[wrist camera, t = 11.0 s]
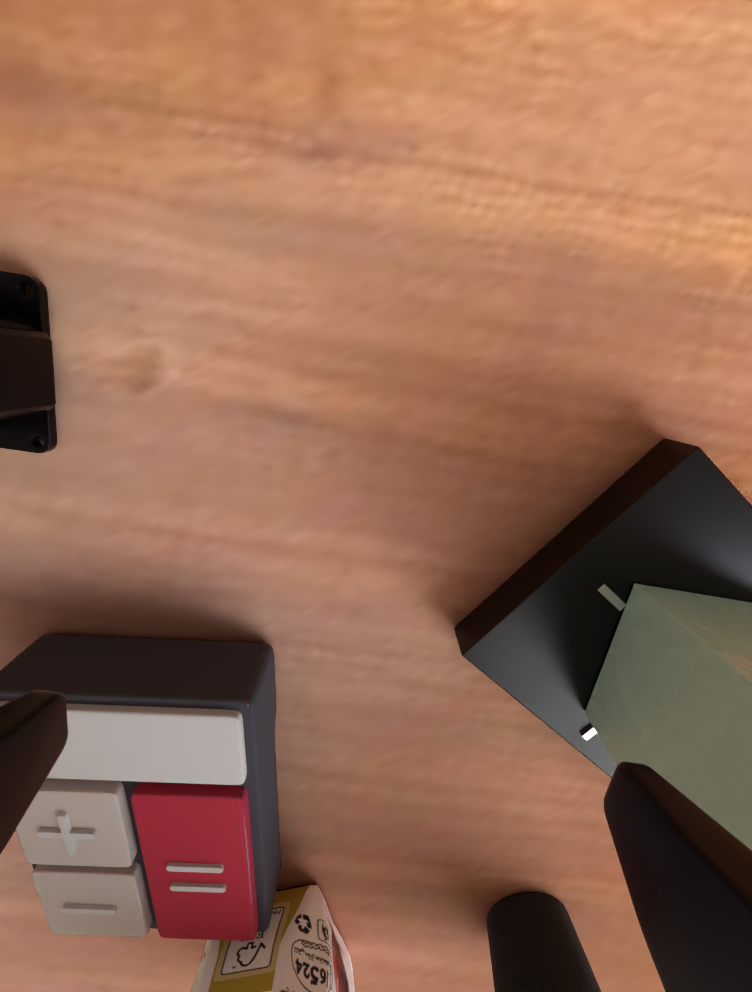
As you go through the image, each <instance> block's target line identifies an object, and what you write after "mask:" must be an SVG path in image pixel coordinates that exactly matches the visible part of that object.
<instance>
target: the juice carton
mask: <svg viewBox="0 0 752 992" xmlns="http://www.w3.org/2000/svg"><path fill="white" fill-rule="evenodd" d="M190 992H355V989H354V979H353V970H352V963H351V959H350V956H349V952H348V950H347V948H346V946H345V943H344V941H343V939H342V937H341V935H340V934H339V932H338V930H337V928H336V927H335V925H334V923H333V921H332V918H331V915H330V912H329V909H328V906H327V903H326V901H325V899H324V897H323V895H322V892H321V890H320V889H319V887H318V885H308V886H303V887H298V888H293V889H287V890H282V891H277V892H276V894H275V899H274V904H273V909H272V915H271V920H270V925H269V928H268V929H267V930H266V931H263V932H257V933H256V937H255V939H254V940H252V941H235V940H207V943H206V946H205V949H204V952H203V955H202V957H201V960H200V963H199V966H198V969H197V972H196V975H195V979H194V982H193V985H192V988H191V991H190Z"/></svg>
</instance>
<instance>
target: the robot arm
mask: <svg viewBox="0 0 752 992" xmlns="http://www.w3.org/2000/svg"><path fill="white" fill-rule="evenodd" d="M28 285H30V286H31V288H32V295H31V296H30V297H29V296H28V294H27V291H26V290H27V286H28ZM55 403H56V401H55V386H54V370H53V355H52V341H51V339H50V327H49V312H48V297H47V291H46V287H45V286H44V284H43V283H42V282H41V281H40V280H39V279H37V278H34V277H31V276H27V275H23V274H16V273H10V272H3V271H0V448H6V449H13V450H21V451H28V452H35V453H44V452H48V451H51V450H53V449H54V448H55V447H56V445H57V432H56V417H55ZM38 435H40V436H41V437H42V438H43V441H44V443H43V444H41V443H40V442H39V440H38ZM67 737H68V723H67V709H66V699H65V696H64V695H63V694H62V693H60V692H54V691H45V690H34V691H31V692H29V693H27V694H24V695H22V696H20V697H18V698H16V699H14V700H12V701H10V702H8V703H6V704H4V705H2V706H0V854H1V852H2V851H3V849H4V848H5V846H6V844H7V843H8V841H9V840H10V838H11V836H12V835H13V833H14V831H15V830H16V828H17V826H18V825H19V823H20V821H21V820H22V818H23V816H24V815H25V813H26V811H27V810H28V808H29V806H30V804H31V803H32V801H33V799H34V798H35V796H36V794H37V793H38V791H39V789H40V788H41V786H42V784H43V783H44V781H45V779H46V778H47V776H48V774H49V773H50V771H51V769H52V768H53V766H54V764H55V763H56V761H57V759H58V758H59V756H60V754H61V753H62V751H63V749H64V747H65V744H66V741H67ZM604 811H605V815H606V819H607V822H608V825H609V829H610V832H611V835H612V838H613V841H614V845H615V848H616V851H617V854H618V857H619V861H620V864H621V867H622V870H623V873H624V877H625V880H626V883H627V886H628V889H629V892H630V896H631V899H632V902H633V905H634V908H635V912H636V915H637V918H638V920H639V923H640V926H641V929H642V932H643V935H644V938H645V940H646V943H647V946H648V948H649V951H650V953H651V956H652V959H653V961H654V964H655V966H656V969H657V971H658V974H659V976H660V979H661V981H662V984H663V986H664V989H665V991H666V992H752V850H750V849H749V848H748V847H747V846H746V845H744V844H743V843H742V842H741V841H740V840H738V839H737V838H736V837H735V836H733V835H732V834H731V833H730V832H729V831H727V830H726V829H725V828H724V827H722V826H721V825H720V824H719V823H718V822H716V821H715V820H714V819H713V818H712V817H710V816H709V815H708V814H707V813H705V812H704V811H703V810H702V809H701V808H699V807H698V806H697V805H696V804H694V803H693V802H692V801H691V800H690V799H688V798H687V797H686V796H685V795H684V794H682V793H681V792H680V791H679V790H677V789H676V788H675V787H674V786H673V785H671V784H670V783H669V782H668V781H666V780H665V779H664V778H663V777H662V776H660V775H659V774H658V773H657V772H656V771H654V770H653V769H652V768H650V767H649V766H647V765H645V764H640V763H632V762H621V763H619V764H618V765H617V767H616V769H615V771H614V774H613V776H612V779H611V782H610V784H609V787H608V789H607V792H606V794H605V798H604Z"/></svg>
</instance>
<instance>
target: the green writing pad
mask: <svg viewBox="0 0 752 992" xmlns="http://www.w3.org/2000/svg"><path fill="white" fill-rule="evenodd" d="M626 605H627V606H625V609H624V611H623V614H622V617H621V619H620V622H619V624H618V627H617V630H616V632H615V635H614V637H613V640H612V643H611V645H610V648H609V651H608V653H607V656H606V658H605V661H604V664H603V666H602V669H601V671H600V674H599V677H598V679H597V682H596V684H595V687H594V690H593V692H592V695H591V698H590V700H589V703H588V705H587V708H586V711H585V714H586V715H587V717H588V719H589V720H590V722H591V724H592V726H593V727H594V729H595V731H596V732H597V734H598V736H599V737H600V739H601V741H602V742H603V744H604V746H605V747H606V749H607V751H608V752H609V754H610V756H611V757H612V759H613V761H614V762H615V764H616V766H617V765H618V764H619V763H621V762H632V763H640V764H645V765H647V766H649V767H650V768H652V769H653V770H654V771H656V772H657V773H658V774H659V775H660V776H662V777H663V778H664V779H665V780H666V781H668V782H669V783H670V784H671V785H673V786H674V787H675V788H676V789H677V790H679V791H680V792H681V793H682V794H684V795H685V796H686V797H687V798H688V799H690V800H691V801H692V802H693V803H694V804H696V805H697V806H698V807H699V808H701V809H702V810H703V811H704V812H705V813H707V814H708V815H709V816H710V817H712V818H713V819H714V820H715V821H716V822H718V823H719V824H720V825H721V826H722V827H724V828H725V829H726V830H727V831H729V832H730V833H731V834H732V835H733V836H735V837H736V838H737V839H738V840H740V841H741V842H742V843H743V844H744V845H746V846H747V847H748V848H749V849H750V850H752V603H751V602H745V601H739V600H733V599H727V598H720V597H714V596H708V595H702V594H696V593H690V592H684V591H678V590H672V589H665V588H659V587H653V586H647V585H641V584H634V585H633V588H632V590H631V593H630V596H629V598H628V601H627V604H626Z"/></svg>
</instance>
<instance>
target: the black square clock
mask: <svg viewBox="0 0 752 992" xmlns="http://www.w3.org/2000/svg"><path fill="white" fill-rule="evenodd" d="M634 584H641V585H647V586H653V587H659V588H665V589H672V590H678V591H684V592H690V593H696V594H702V595H708V596H714V597H720V598H727V599H733V600H739V601H745V602H751V603H752V505H751V504H750V503H749V502H748V501H747V500H746V499H745V498H744V497H743V495H742V494H741V493H740V492H739V491H738V490H737V489H736V488H735V487H734V485H733V484H732V483H731V482H730V481H729V480H728V479H727V478H726V477H725V475H724V474H723V473H722V472H721V471H720V470H719V469H718V468H717V467H716V465H715V464H714V463H713V462H712V461H711V460H710V459H709V458H708V457H707V455H706V454H705V453H704V452H703V451H702V450H701V449H700V448H699V447H698V446H694V445H690V444H686V443H682V442H678V441H674V440H669V439H665V438H664V439H663V440H662V441H660V442H659V443H658V444H657V445H656V446H655V447H654V448H653V449H652V450H650V451H649V452H648V453H647V454H646V455H645V456H644V457H643V458H642V459H641V460H639V461H638V462H637V463H636V464H635V465H634V466H633V467H632V468H631V469H629V470H628V471H627V472H626V473H625V474H624V475H623V476H622V477H621V478H619V479H618V480H617V481H616V482H615V483H614V484H613V485H612V486H611V487H610V488H608V489H607V490H606V491H605V492H604V493H603V494H602V495H601V496H600V497H598V498H597V499H596V500H595V501H594V502H593V503H592V504H591V505H590V506H589V507H587V508H586V509H585V510H584V511H583V512H582V513H581V514H580V515H579V516H577V517H576V518H575V519H574V520H573V521H572V522H571V523H570V524H569V525H568V526H566V527H565V528H564V529H563V530H562V531H561V532H560V533H559V534H558V535H556V536H555V537H554V538H553V539H552V540H551V541H550V542H549V543H548V544H547V545H545V546H544V547H543V548H542V549H541V550H540V551H539V552H538V553H537V554H535V555H534V556H533V557H532V558H531V559H530V560H529V561H528V562H527V563H526V564H524V565H523V566H522V567H521V568H520V569H519V570H518V571H517V572H516V573H514V574H513V575H512V576H511V577H510V578H509V579H508V580H507V581H506V582H505V583H503V584H502V585H501V586H500V587H499V588H498V589H497V590H496V591H495V592H493V593H492V594H491V595H490V596H489V597H488V598H487V599H486V600H485V601H484V602H482V603H481V604H480V605H479V606H478V607H477V608H476V609H475V610H474V611H472V612H471V613H470V614H469V615H468V616H467V617H466V618H465V619H464V620H462V621H461V622H460V623H459V624H458V625H457V626H456V627H455V628H454V630H455V633H456V637H457V640H458V643H459V647H460V650H461V654H462V656H463V657H465V658H466V659H467V660H468V661H470V662H471V663H472V664H473V665H474V666H476V667H477V668H478V669H479V670H481V671H482V672H483V673H484V674H485V675H487V676H488V677H489V678H490V679H492V680H493V681H494V682H495V683H496V684H498V685H499V686H500V687H501V688H503V689H504V690H505V691H506V692H507V693H509V694H510V695H511V696H512V697H513V698H515V699H516V700H517V701H518V702H520V703H521V704H522V705H523V706H524V707H526V708H527V709H528V710H529V711H531V712H532V713H533V714H534V715H535V716H537V717H538V718H539V719H540V720H542V721H543V722H544V723H545V724H546V725H548V726H549V727H550V728H551V729H553V730H554V731H555V732H556V733H557V734H559V735H560V736H561V737H562V738H564V739H565V740H566V741H567V742H568V743H570V744H571V745H572V746H573V747H574V748H576V749H577V750H578V751H579V752H581V753H582V754H583V755H584V756H585V757H587V758H588V759H589V760H590V761H592V762H593V763H594V764H595V765H596V766H598V767H599V768H600V769H601V770H603V771H604V772H605V773H606V774H607V775H609V776H610V777H611V778H612V776H613V774H614V771H615V769H616V767H617V766H616V764H615V762H614V761H613V759H612V757H611V756H610V754H609V752H608V751H607V749H606V747H605V746H604V744H603V742H602V741H601V739H600V737H599V736H598V734H597V732H596V731H595V729H594V727H593V726H592V724H591V722H590V720H589V719H588V717H587V715H586V714H585V711H586V708H587V705H588V703H589V700H590V698H591V695H592V692H593V690H594V687H595V684H596V682H597V679H598V677H599V674H600V671H601V669H602V666H603V664H604V661H605V658H606V656H607V653H608V651H609V648H610V645H611V643H612V640H613V637H614V635H615V632H616V630H617V627H618V624H619V622H620V619H621V617H622V614H623V611H624V609H625V606H627V605H626V604H627V601H628V598H629V596H630V593H631V590H632V588H633V585H634Z"/></svg>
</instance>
